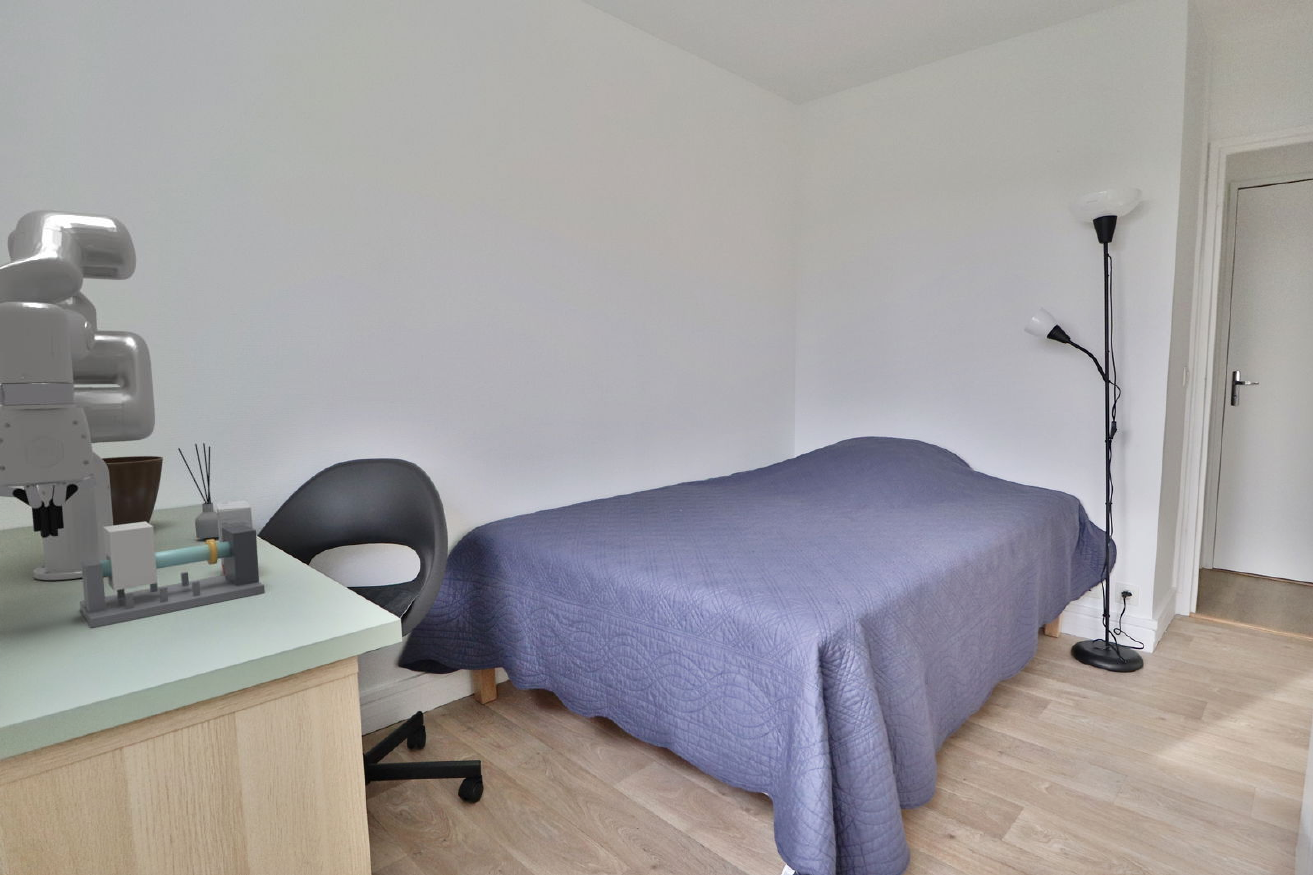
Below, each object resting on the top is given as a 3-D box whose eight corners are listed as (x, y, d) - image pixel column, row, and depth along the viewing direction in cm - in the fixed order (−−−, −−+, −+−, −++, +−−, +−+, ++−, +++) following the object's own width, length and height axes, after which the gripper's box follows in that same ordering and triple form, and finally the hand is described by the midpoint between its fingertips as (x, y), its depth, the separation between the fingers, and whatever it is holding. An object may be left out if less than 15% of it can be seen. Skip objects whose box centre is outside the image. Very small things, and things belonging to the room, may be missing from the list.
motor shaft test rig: (91, 627, 95) (86, 558, 94) (80, 609, 102) (75, 545, 102) (264, 592, 109) (261, 532, 109) (243, 578, 117) (239, 522, 116)
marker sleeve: (113, 590, 98) (109, 532, 98) (107, 583, 102) (103, 526, 101) (157, 582, 102) (153, 526, 101) (149, 575, 106) (145, 521, 105)
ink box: (257, 576, 118) (253, 506, 117) (222, 581, 116) (217, 510, 115) (253, 565, 126) (249, 499, 125) (220, 570, 123) (215, 502, 122)
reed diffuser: (231, 540, 146) (224, 443, 144) (192, 546, 141) (185, 445, 139) (214, 533, 153) (208, 440, 151) (176, 539, 147) (169, 442, 146)
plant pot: (125, 524, 163) (120, 455, 161) (184, 526, 161) (179, 455, 159) (63, 539, 148) (56, 463, 147) (126, 541, 146) (120, 463, 144)
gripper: (-42, 399, 86) (-28, 549, 87) (113, 396, 96) (123, 530, 97) (-42, 399, 91) (-29, 541, 92) (104, 396, 102) (114, 524, 103)
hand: (49, 535), depth 95 cm, fingers closed
